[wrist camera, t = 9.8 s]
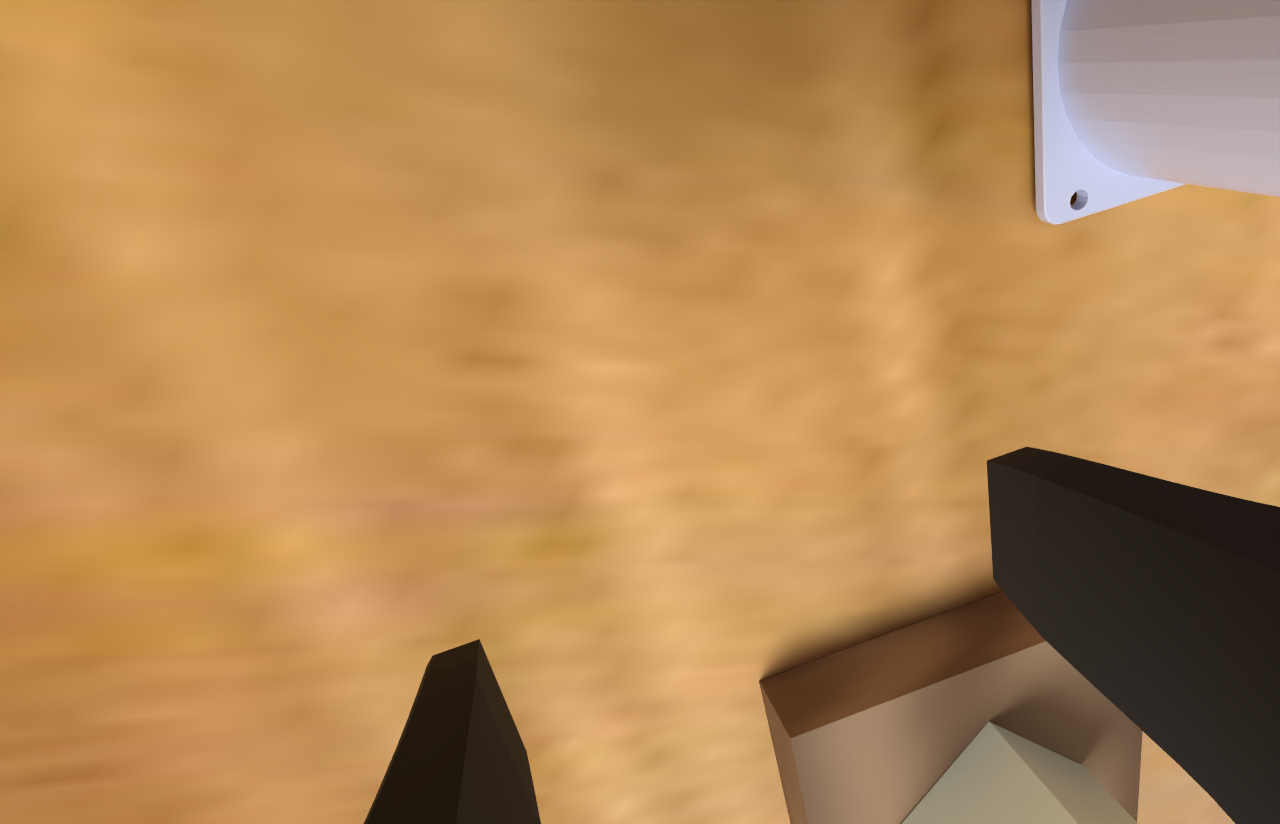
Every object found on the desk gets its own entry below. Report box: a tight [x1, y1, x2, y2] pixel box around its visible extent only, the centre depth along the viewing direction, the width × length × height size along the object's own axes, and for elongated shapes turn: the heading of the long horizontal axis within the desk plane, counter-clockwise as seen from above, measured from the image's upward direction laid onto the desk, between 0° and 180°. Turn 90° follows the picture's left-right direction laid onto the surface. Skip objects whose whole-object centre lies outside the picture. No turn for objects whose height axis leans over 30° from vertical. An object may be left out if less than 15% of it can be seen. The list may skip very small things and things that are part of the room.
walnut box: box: [759, 591, 1142, 824], centre depth 28 cm, size 12×12×3 cm
